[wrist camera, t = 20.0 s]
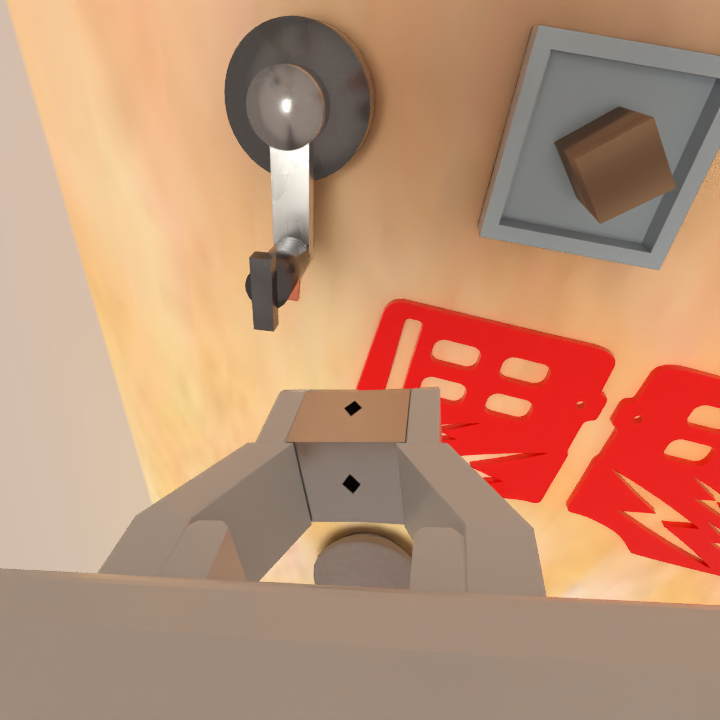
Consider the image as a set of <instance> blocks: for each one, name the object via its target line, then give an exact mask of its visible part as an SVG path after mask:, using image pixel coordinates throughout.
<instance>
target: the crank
mask: <svg viewBox="0 0 720 720" xmlns="http://www.w3.org/2000/svg"><path fill="white" fill-rule="evenodd" d="M246 109H247V115H248V119H249V122H250V124H251V126H252V128H253V130H254V131H255V133H256V134H257V135H258V137H259V138H260V139H261V140H262V141H263V142H265V143H266V144H267V145H269V146H270V162H271V188H272V215H273V241H274V246H273V247H272V248H271V249H270V251H269V252H268V253H266V252H256V251H255V252H254V253H253V254H252V255H251V256H250V257H249V260H250V274H249V275H248V277H247V279H246V284H245V287H246V292H247V294H248V296H249V298H250V299H251V300H252V307H253V322H254V329H257V330H265V331H274V330H275V329H276V327H277V325H278V308H279V307H281V306H282V305H284V304H285V302H286V301H287V299H288V298H289V296H290V295H291V293H292V291H293V290H294V288H295V287H296V285H297V283H298V282H299V280H300V278H301V277H302V275H303V274H304V272H305V270H306V269H307V267H308V265H309V264H310V262H311V261H312V259H313V210H314V139H316V138H317V137H318V136H319V135H320V134H321V133H322V132H323V130H324V129H325V127H326V125H327V122H328V119H329V115H330V99H329V94H328V91H327V89H326V86H325V84H324V83H323V81H322V80H321V78H320V77H319V76H318V75H317V74H316V73H315V72H314V71H313V70H311V69H310V68H308V67H306V66H304V65H301V64H296V63H286V64H276V65H272V66H269V67H266V68H265V69H263V70H262V71H260V72H259V73H258V74H257V75H256V76H255V77H254V79H253V80H252V82H251V84H250V86H249V89H248V92H247V98H246Z"/></svg>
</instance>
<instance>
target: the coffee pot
mask: <svg viewBox="0 0 720 720" xmlns="http://www.w3.org/2000/svg"><path fill="white" fill-rule="evenodd" d="M411 563H412V558H411V557H410V556H409V555H408V554H407V553H406V552H405V551H404V550H403V549H402V548H400V547H399V546H398V545H396V544H395V543H394V542H393V541H391V540H390V539H388V538H386V537H383V536H380V535H378V534H372V533H357V534H352V535H349V536H347V537H344V538H341V539H339V540H337V541H335V542H333V543H331V544H330V545H329V546H327V547H326V548H325V549H324V550H323V551H322V552H321V554H320V555H319V556H318V558H317V560H316V562H315V564H314V581H315V585H333V586H352V587H372V588H390V589H409V588H410V576H411Z"/></svg>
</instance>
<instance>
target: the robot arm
mask: <svg viewBox="0 0 720 720" xmlns="http://www.w3.org/2000/svg"><path fill="white" fill-rule="evenodd" d="M311 522H371V523H389V524H404V525H405V528H406V530H407V531H408V533H409V535H410V536H411V538H412V540H413V551H412V563H411V576H410V588H409V589H390V588H372V587H352V586H333V585H313V584H294V583H274V582H259V581H260V580H261V578H262V577H263V576H264V575H265V574H266V573H267V572H268V571H269V570H270V569H271V568H272V567H273V565H274V564H275V563H276V562H277V561H278V560H279V559H280V558H281V557H282V556H283V555H284V554H285V553H286V551H287V550H288V549H289V548H290V547H291V546H292V545H293V544H294V543H295V542H296V541H297V540H298V538H299V537H300V536H301V535H302V534H303V533H304V532H305V531H306V530H307V529H308V528H309V527H310V526H311ZM0 720H720V606H719V605H699V604H680V603H660V602H640V601H619V600H599V599H579V598H559V597H547V596H546V591H545V586H544V581H543V575H542V570H541V565H540V560H539V554H538V549H537V544H536V539H535V534H534V528H532V527H531V526H530V525H529V524H528V523H527V522H526V521H525V520H524V519H523V518H522V517H521V516H520V515H519V514H518V513H517V512H516V511H515V510H514V509H513V508H512V507H511V506H510V505H509V504H508V503H507V502H506V501H505V500H504V499H503V498H502V497H501V496H500V495H499V494H498V493H497V492H496V491H495V490H494V489H493V488H492V487H491V486H490V485H489V484H488V483H487V482H486V481H485V480H484V479H483V478H482V477H481V476H480V475H479V474H478V473H477V472H476V471H475V470H474V469H473V468H472V467H471V466H470V465H469V464H468V463H467V462H466V461H465V460H464V459H463V458H462V457H461V456H460V455H459V454H458V453H457V452H456V451H455V450H454V449H453V448H452V447H451V446H450V445H449V444H448V443H442V428H441V403H440V389H439V387H426V388H412V389H388V390H362V391H360V390H283V391H282V392H280V393H279V395H278V397H277V399H276V401H275V403H274V405H273V407H272V409H271V411H270V413H269V415H268V418H267V420H266V422H265V424H264V426H263V428H262V430H261V432H260V434H259V436H258V438H257V440H256V442H255V443H247V444H245V445H244V446H242V447H241V448H239V449H237V450H236V451H234V452H233V453H231V454H230V455H228V456H227V457H225V458H224V459H222V460H221V461H219V462H218V463H216V464H214V465H213V466H211V467H210V468H208V469H207V470H205V471H204V472H202V473H201V474H199V475H198V476H196V477H195V478H193V479H191V480H190V481H188V482H187V483H185V484H184V485H182V486H181V487H179V488H178V489H176V490H175V491H173V492H172V493H170V494H168V495H167V496H165V497H164V498H162V499H161V500H159V501H158V502H156V503H155V504H153V505H152V506H150V507H149V508H147V509H145V510H144V511H142V512H141V513H139V514H138V515H136V516H135V518H134V519H133V521H132V522H131V524H130V525H129V527H128V528H127V530H126V531H125V533H124V534H123V536H122V537H121V539H120V540H119V542H118V543H117V545H116V546H115V548H114V549H113V551H112V552H111V554H110V555H109V557H108V558H107V560H106V561H105V563H104V564H103V566H102V567H101V569H100V570H99V572H98V573H78V572H60V571H59V572H57V571H40V570H21V569H1V568H0Z"/></svg>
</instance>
